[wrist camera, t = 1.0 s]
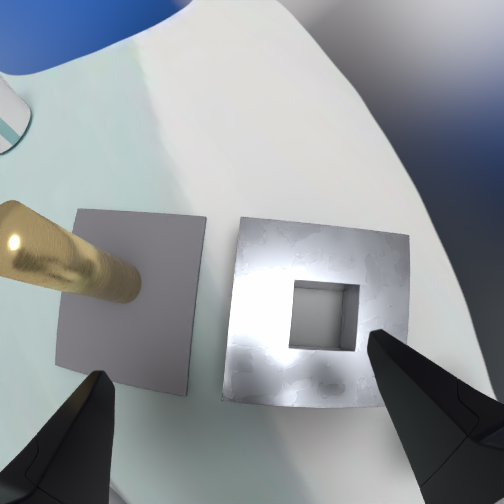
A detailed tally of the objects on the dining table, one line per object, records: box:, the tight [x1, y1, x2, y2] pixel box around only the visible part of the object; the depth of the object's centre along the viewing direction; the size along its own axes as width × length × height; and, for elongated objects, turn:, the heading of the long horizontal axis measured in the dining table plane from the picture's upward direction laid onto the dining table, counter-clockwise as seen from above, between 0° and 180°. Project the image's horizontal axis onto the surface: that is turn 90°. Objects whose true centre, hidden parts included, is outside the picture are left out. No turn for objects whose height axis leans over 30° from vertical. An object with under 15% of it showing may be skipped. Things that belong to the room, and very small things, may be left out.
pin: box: [0, 200, 142, 304], centre depth 17 cm, size 3×3×14 cm
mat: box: [55, 209, 207, 396], centre depth 24 cm, size 14×12×1 cm
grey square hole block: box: [222, 217, 410, 408], centre depth 21 cm, size 12×12×4 cm
